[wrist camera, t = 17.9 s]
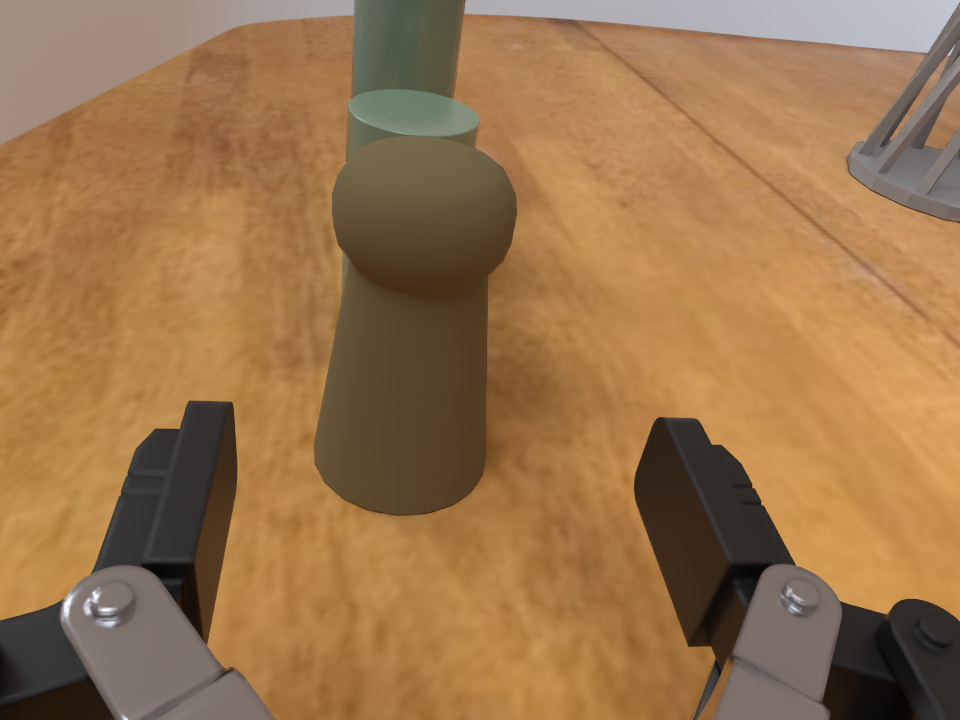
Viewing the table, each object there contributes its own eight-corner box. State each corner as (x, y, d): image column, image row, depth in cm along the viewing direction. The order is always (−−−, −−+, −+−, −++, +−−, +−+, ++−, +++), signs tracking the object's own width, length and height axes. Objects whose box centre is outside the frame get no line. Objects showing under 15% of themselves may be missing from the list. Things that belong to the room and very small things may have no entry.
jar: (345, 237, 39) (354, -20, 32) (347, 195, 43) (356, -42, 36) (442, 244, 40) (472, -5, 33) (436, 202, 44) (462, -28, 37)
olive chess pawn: (416, 545, 24) (458, 226, 18) (275, 455, 26) (267, 143, 20) (516, 445, 28) (579, 160, 22) (388, 375, 31) (411, 99, 24)
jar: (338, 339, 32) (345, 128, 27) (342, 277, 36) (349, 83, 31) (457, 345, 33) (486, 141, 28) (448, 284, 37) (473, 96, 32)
